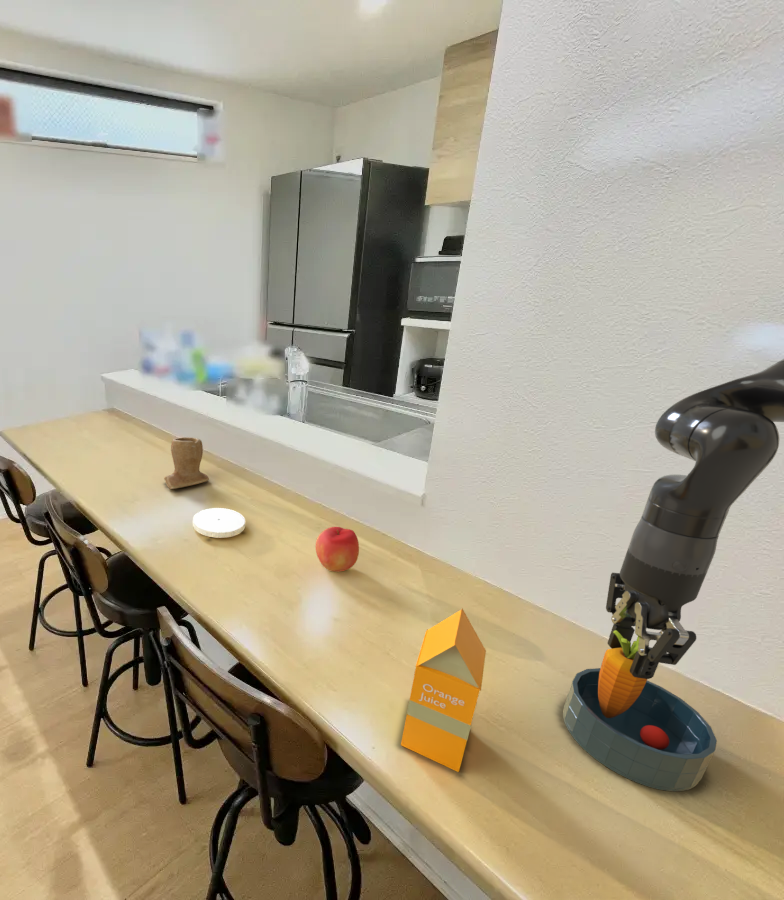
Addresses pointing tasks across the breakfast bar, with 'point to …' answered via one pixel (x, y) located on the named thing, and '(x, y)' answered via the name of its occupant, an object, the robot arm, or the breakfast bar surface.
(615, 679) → the carrot
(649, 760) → the bowl
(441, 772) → the breakfast bar surface
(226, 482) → the breakfast bar surface
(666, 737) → the ball
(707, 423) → the robot arm
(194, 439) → the stone cup
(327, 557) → the apple
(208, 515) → the plastic lid
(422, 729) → the orange juice
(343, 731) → the breakfast bar surface
